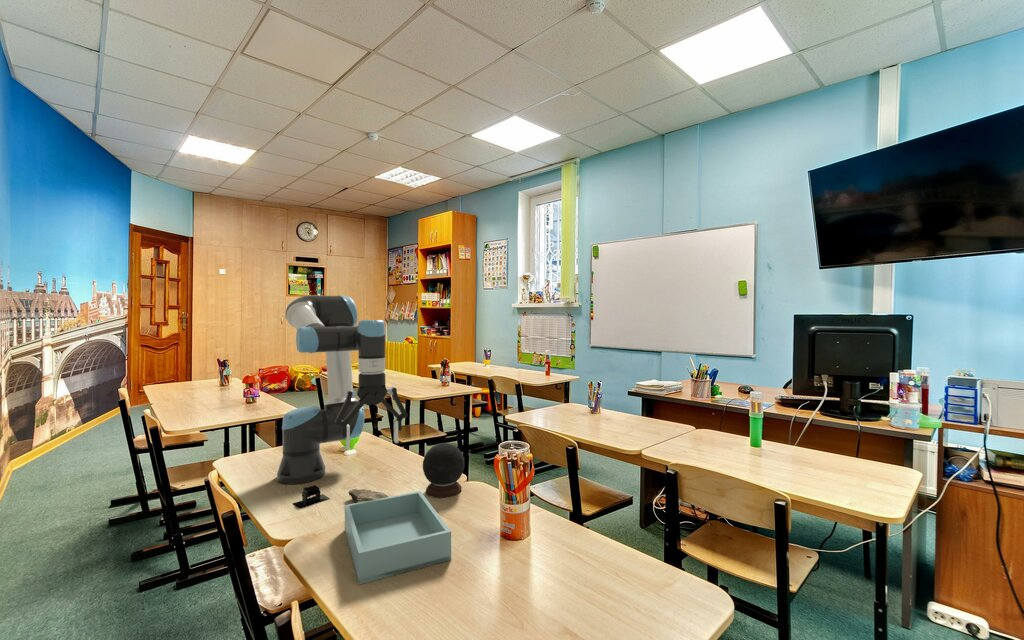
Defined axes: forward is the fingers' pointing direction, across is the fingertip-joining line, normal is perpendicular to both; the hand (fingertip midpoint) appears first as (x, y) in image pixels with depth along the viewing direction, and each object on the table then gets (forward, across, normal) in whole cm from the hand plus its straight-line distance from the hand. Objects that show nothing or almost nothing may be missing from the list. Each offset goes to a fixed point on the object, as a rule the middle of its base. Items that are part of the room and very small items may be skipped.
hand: (372, 445), depth 128 cm
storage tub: (+18, +1, -25) cm, 31 cm away
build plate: (+18, -16, +12) cm, 27 cm away
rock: (+18, 0, 0) cm, 18 cm away
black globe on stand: (+18, +22, +1) cm, 28 cm away
